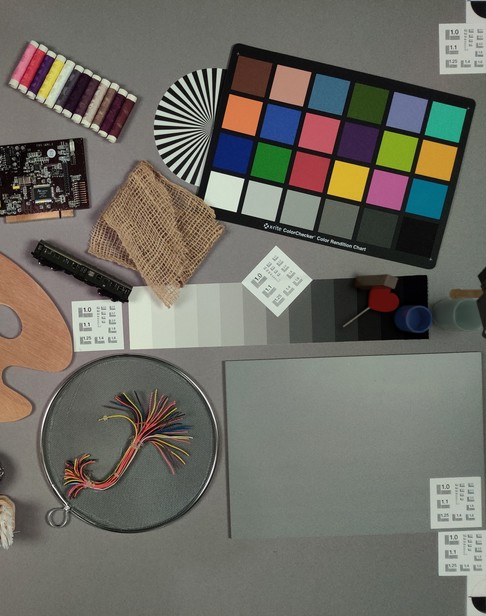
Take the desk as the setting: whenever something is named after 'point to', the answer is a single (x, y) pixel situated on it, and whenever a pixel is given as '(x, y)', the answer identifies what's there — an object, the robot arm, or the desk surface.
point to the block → (375, 282)
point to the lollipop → (380, 301)
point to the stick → (465, 293)
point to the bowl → (413, 318)
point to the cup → (457, 314)
